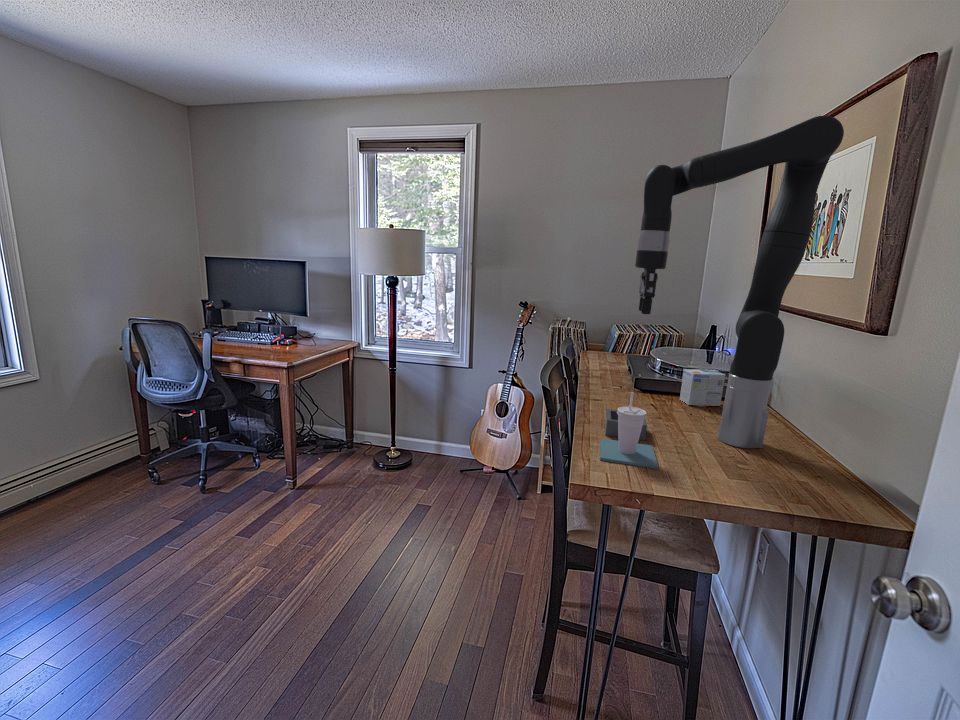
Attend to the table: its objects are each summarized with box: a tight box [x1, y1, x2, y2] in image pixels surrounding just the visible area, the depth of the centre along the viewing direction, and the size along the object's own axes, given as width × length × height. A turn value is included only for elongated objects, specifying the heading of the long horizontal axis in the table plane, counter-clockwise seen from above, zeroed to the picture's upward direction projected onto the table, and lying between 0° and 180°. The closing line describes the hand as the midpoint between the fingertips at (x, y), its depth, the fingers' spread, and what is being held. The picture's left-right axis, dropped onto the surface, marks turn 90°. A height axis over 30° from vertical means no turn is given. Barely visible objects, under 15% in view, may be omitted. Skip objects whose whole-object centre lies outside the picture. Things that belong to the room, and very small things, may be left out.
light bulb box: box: [679, 368, 726, 407], centre depth 149 cm, size 11×7×11 cm, turn 94°
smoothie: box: [617, 391, 648, 454], centre depth 105 cm, size 6×6×14 cm
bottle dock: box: [604, 408, 648, 441], centre depth 120 cm, size 10×10×4 cm
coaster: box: [599, 437, 659, 470], centre depth 106 cm, size 12×12×1 cm
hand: (644, 312), depth 123 cm, fingers open, 8 cm apart
